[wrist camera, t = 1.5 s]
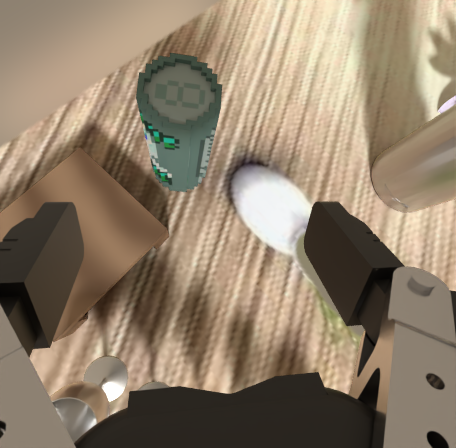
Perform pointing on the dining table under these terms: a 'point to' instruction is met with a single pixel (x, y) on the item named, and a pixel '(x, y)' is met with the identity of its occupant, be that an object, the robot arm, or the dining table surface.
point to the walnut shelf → (91, 229)
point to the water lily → (447, 104)
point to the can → (179, 118)
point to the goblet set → (93, 395)
